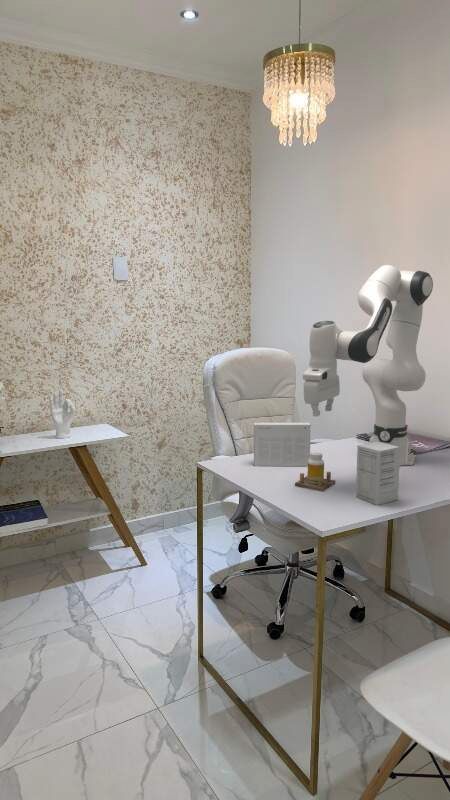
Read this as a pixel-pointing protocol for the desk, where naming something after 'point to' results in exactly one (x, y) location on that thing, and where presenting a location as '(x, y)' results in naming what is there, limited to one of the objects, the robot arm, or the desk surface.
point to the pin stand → (319, 486)
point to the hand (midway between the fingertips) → (322, 413)
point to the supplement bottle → (315, 467)
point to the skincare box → (281, 444)
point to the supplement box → (377, 472)
